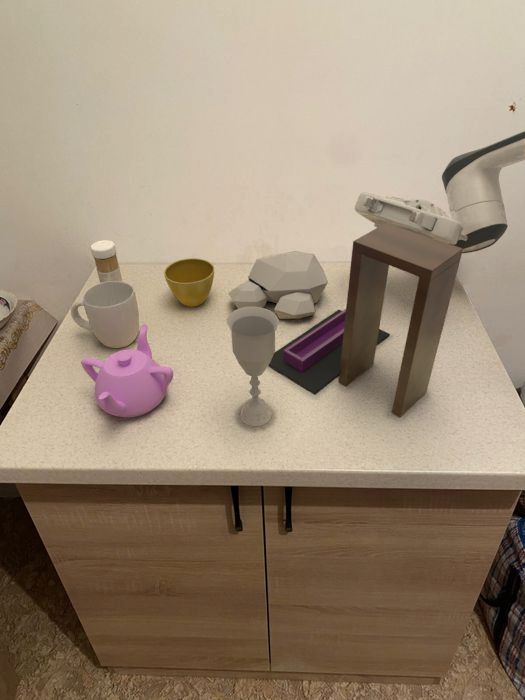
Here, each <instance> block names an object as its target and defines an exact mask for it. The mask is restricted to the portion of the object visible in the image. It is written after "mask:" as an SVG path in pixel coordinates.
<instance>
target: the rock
mask: <svg viewBox="0 0 525 700" xmlns="http://www.w3.org/2000/svg"><path fill="white" fill-rule="evenodd" d="M247 277H248V280H246V281H245V282H243V283H241V284H240V285H238V286H236V287H235V288H234V289H232V290H230V291H229V292H228V295H229V297H230V300H231V301H232V303H233V304H234V305H235V307H236V308H237V309H239V308H243V307H261V308H264V307H265V306H266V304H267V302H269V303H275V304H276V305H275V307H274V309H273V310H274V312H275V313H276V316H277V317H278V319H279V320H301V319H304V318H308V317H311V316H315V314H316V308H315V304H317V303H318V301H319V300H320V297H321V296H322V294H323V293H324V291H325V289H326V287H327V285H328V283H329V281H328V277H327V275H326V273H325V270H324V269H323V267H322V265H321V263H320V261H319V259H318V258H317V257H316V255H315V254H314V253H311V252H305V251H298V250H293V251H287V252H282V253H276V254H272V255H268V256H263V257H259V258H256V260H255V262H254V264H253V266H252V267H251V269H250V272H249V274H248V275H247Z"/></svg>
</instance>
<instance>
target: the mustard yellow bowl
mask: <svg viewBox="0 0 525 700" xmlns="http://www.w3.org/2000/svg"><path fill="white" fill-rule="evenodd" d="M163 275H164V278H165V281H166V283H167V285H168V287H169V290H170V291H171V293H172V294H173V295H174V297H175V298H176V299H177V300H178V302H180V303H181V304H182V305H184V306H185V307H192V308H193V307H197V306H201V305H202V304H204V303H205V302H206V300H207V298H208V297H209V295H210V292H211V289H212V286H213V283H214V277H215V266H214V264H213V263H211V262H210V261H208V260H206V259H202V258H193V257H192V258H184V259H179V260H175V261H174V262H171V263H170V264H169V265H167V266H166V267H165V269H164V271H163Z"/></svg>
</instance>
